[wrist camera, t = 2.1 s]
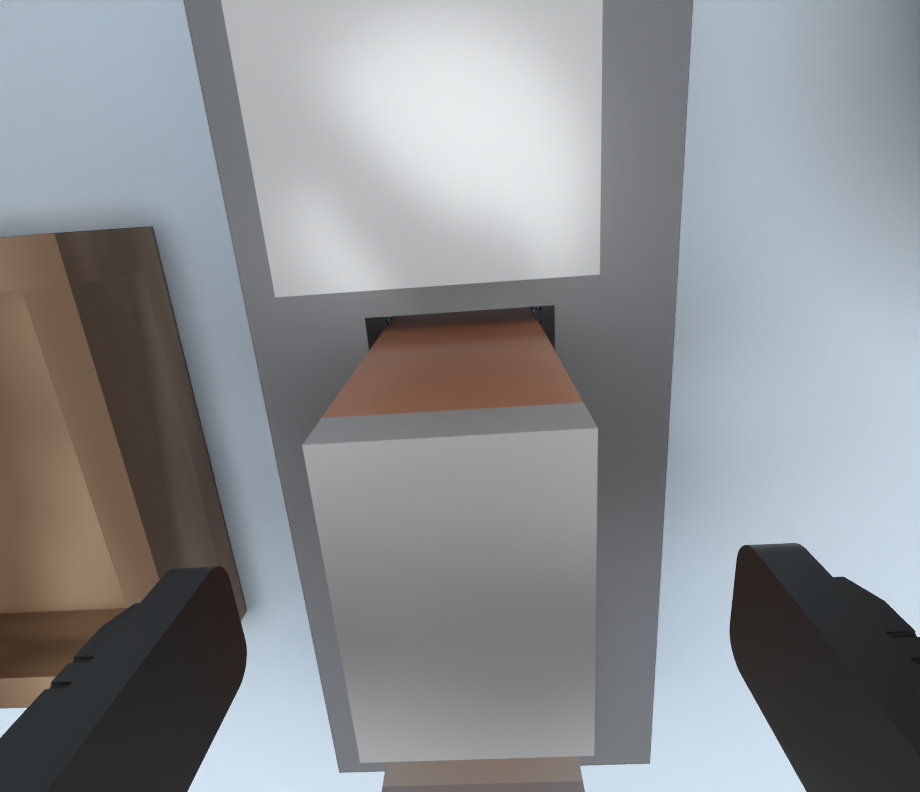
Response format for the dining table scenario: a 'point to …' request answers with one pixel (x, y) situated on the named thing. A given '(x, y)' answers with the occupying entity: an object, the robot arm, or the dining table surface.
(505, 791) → the block
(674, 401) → the dining table surface
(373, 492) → the block
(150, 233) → the tray
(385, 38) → the block
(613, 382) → the frame
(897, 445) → the dining table surface
